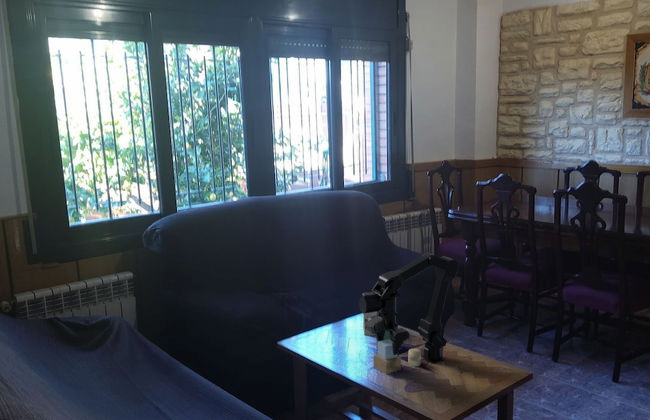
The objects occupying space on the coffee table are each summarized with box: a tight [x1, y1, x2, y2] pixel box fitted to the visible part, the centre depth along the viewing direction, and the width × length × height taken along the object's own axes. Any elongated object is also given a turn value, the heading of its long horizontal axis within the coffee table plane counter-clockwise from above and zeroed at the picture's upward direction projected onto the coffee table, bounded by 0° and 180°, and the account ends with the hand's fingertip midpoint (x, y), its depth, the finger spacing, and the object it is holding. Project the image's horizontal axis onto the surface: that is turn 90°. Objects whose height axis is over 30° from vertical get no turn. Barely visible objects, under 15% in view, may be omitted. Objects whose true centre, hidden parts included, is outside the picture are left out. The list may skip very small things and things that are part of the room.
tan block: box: [373, 353, 402, 375], centre depth 200 cm, size 7×7×5 cm
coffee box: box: [362, 291, 378, 336], centre depth 233 cm, size 9×6×16 cm
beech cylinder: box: [407, 348, 422, 367], centre depth 203 cm, size 5×5×5 cm
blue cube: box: [377, 339, 398, 360], centre depth 199 cm, size 5×5×5 cm
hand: (387, 350), depth 199 cm, fingers open, 9 cm apart
